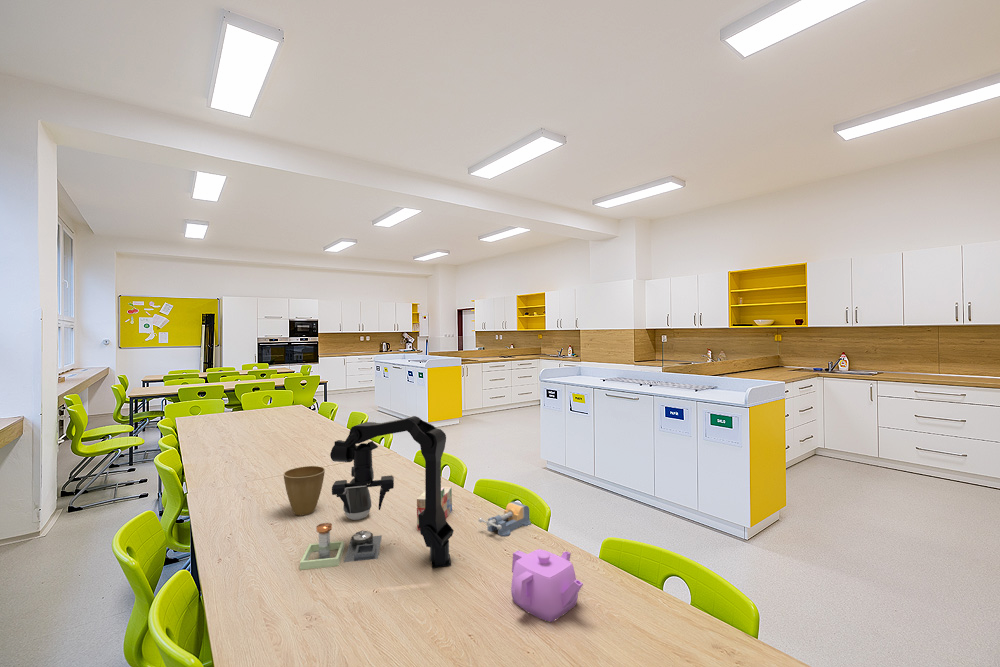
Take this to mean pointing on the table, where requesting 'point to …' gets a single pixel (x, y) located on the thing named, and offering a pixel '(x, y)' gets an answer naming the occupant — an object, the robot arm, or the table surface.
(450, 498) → the stack of blocks
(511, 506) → the vise
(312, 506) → the plant pot
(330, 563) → the tray
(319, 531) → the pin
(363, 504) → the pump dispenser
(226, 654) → the table surface
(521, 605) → the teakettle
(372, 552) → the tensioner
